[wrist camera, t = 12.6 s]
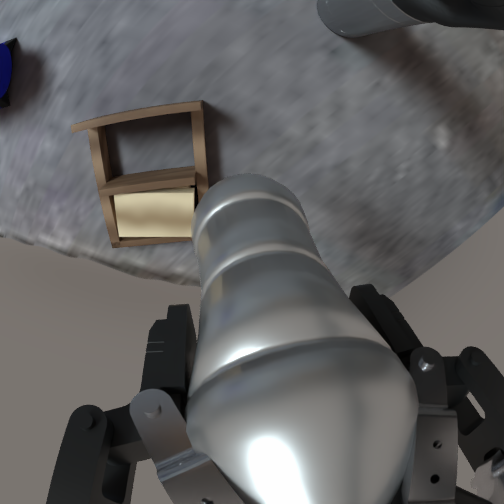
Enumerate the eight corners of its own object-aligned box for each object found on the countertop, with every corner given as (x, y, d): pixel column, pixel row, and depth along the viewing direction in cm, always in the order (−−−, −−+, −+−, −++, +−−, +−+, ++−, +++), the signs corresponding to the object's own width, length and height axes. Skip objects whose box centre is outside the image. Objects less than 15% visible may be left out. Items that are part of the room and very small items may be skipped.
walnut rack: (94, 118, 34) (70, 125, 27) (202, 100, 35) (200, 101, 29) (117, 239, 44) (103, 266, 38) (212, 229, 46) (213, 256, 39)
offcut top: (117, 189, 37) (113, 194, 35) (194, 187, 39) (193, 192, 37) (122, 230, 40) (119, 236, 39) (194, 230, 42) (193, 236, 40)
